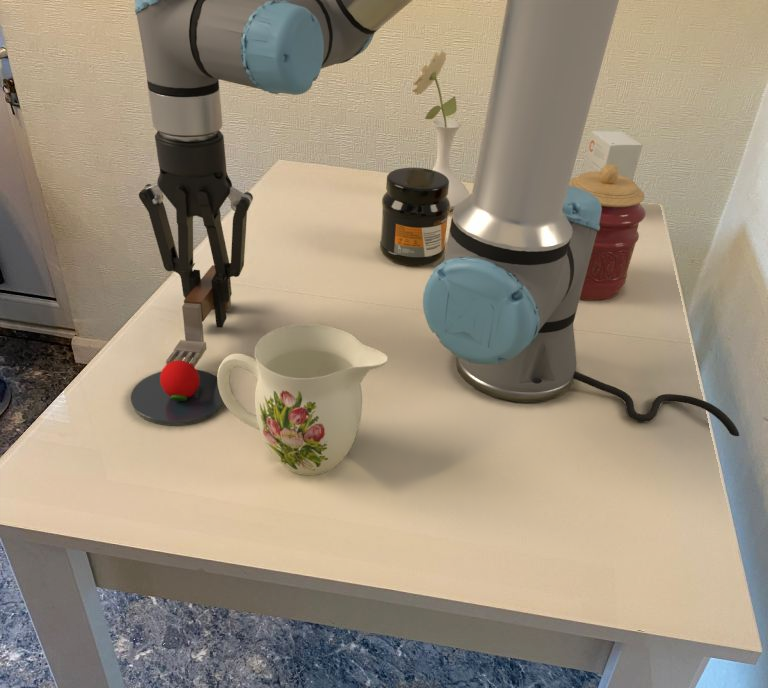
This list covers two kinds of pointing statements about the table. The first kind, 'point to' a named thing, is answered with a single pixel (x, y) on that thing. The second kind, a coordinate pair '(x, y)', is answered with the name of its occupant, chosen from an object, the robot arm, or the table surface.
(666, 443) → the table surface
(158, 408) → the plate
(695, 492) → the table surface
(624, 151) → the small box
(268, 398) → the pitcher
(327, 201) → the table surface
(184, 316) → the fork
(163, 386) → the tomato
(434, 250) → the supplement container
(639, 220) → the kitchen canister
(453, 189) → the flower in vase
